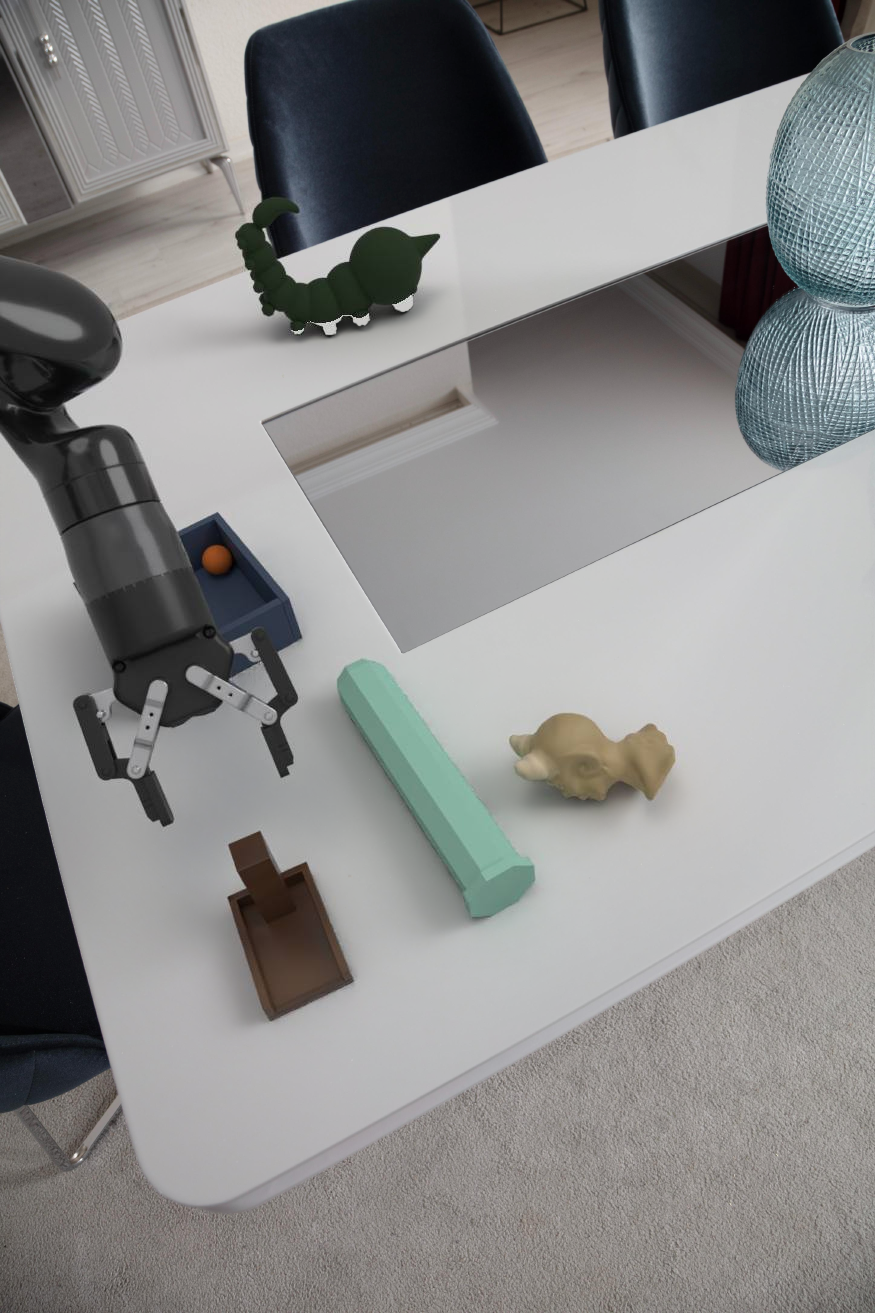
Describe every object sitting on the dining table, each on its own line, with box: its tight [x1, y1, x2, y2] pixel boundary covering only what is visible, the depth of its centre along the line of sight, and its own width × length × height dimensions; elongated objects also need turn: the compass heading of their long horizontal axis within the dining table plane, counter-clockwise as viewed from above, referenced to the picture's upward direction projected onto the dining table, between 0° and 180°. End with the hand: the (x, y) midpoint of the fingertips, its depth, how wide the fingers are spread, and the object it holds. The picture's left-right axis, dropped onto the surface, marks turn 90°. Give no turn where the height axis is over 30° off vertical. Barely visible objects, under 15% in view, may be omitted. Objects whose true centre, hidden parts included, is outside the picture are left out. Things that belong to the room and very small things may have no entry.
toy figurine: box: [234, 196, 441, 331], centre depth 118 cm, size 9×19×25 cm
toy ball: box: [202, 545, 233, 575], centre depth 94 cm, size 3×3×3 cm
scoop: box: [226, 830, 355, 1022], centre depth 65 cm, size 10×6×9 cm
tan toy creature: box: [508, 712, 676, 802], centre depth 73 cm, size 8×7×12 cm
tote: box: [72, 511, 303, 679], centre depth 89 cm, size 16×16×6 cm
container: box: [336, 658, 536, 918], centre depth 75 cm, size 6×6×25 cm
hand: (228, 798), depth 65 cm, fingers open, 8 cm apart
